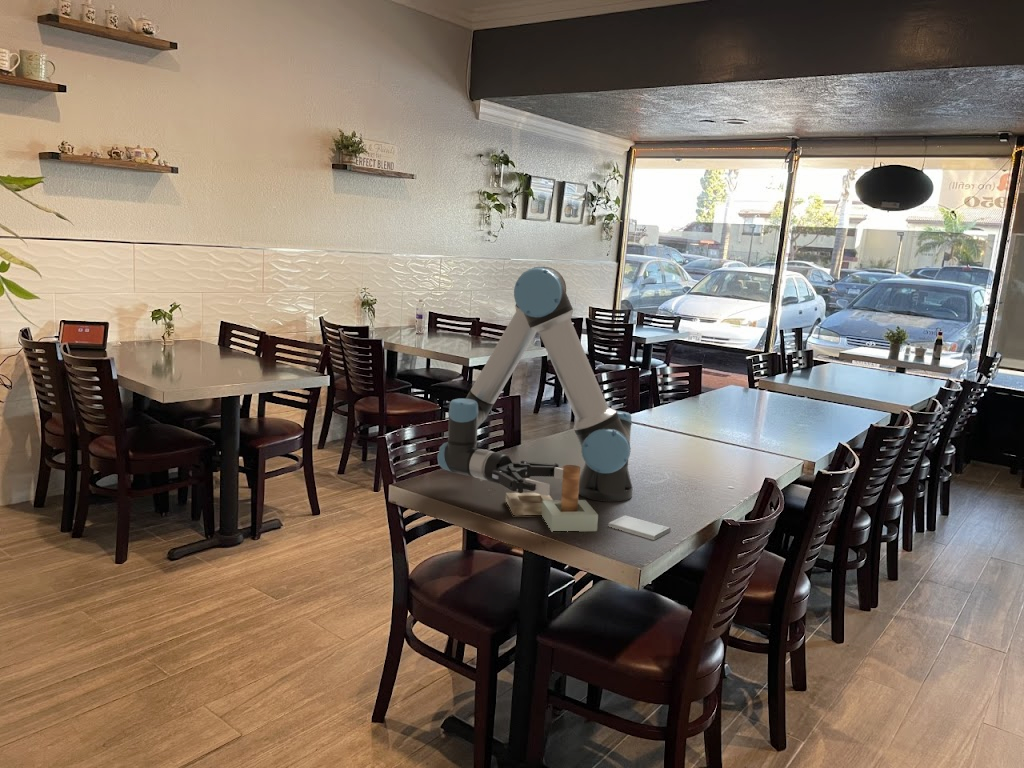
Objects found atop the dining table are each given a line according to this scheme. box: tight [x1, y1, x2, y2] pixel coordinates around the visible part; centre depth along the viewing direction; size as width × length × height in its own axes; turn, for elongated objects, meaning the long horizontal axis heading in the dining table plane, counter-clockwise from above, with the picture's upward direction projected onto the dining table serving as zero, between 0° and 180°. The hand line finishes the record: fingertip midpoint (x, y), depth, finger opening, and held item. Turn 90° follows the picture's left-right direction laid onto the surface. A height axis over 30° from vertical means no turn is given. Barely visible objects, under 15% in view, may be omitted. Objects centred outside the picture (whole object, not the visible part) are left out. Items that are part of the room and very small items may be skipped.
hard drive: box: [607, 515, 672, 541], centre depth 187 cm, size 2×8×12 cm
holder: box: [505, 492, 554, 516], centre depth 198 cm, size 11×11×2 cm
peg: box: [561, 464, 581, 512], centre depth 187 cm, size 4×4×14 cm
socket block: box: [541, 499, 599, 533], centre depth 188 cm, size 11×11×4 cm
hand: (563, 483), depth 188 cm, fingers open, 13 cm apart
